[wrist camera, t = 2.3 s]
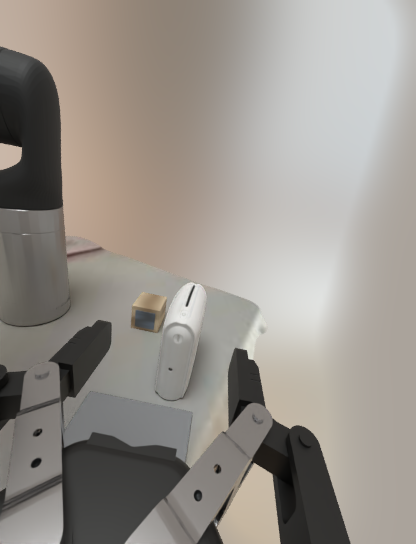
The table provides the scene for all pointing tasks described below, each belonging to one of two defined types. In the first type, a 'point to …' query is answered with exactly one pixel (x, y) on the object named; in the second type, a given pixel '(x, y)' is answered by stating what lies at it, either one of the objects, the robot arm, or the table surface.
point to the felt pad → (130, 422)
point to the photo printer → (180, 341)
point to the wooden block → (148, 312)
